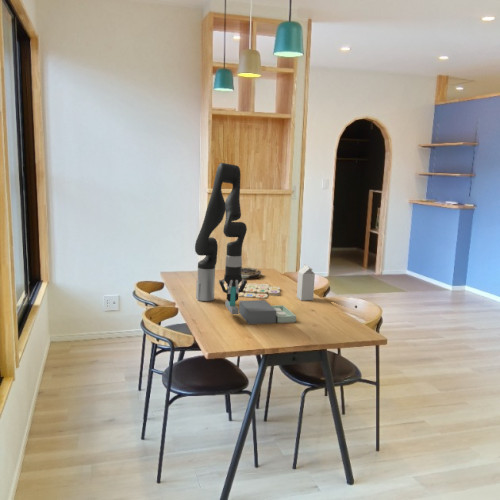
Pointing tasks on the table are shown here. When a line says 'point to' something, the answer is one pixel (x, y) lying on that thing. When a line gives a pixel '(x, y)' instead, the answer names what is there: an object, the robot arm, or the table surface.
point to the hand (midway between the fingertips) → (232, 300)
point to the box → (285, 319)
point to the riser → (257, 312)
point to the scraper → (232, 302)
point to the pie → (250, 273)
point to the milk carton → (305, 283)
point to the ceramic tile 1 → (281, 313)
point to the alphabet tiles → (257, 290)
